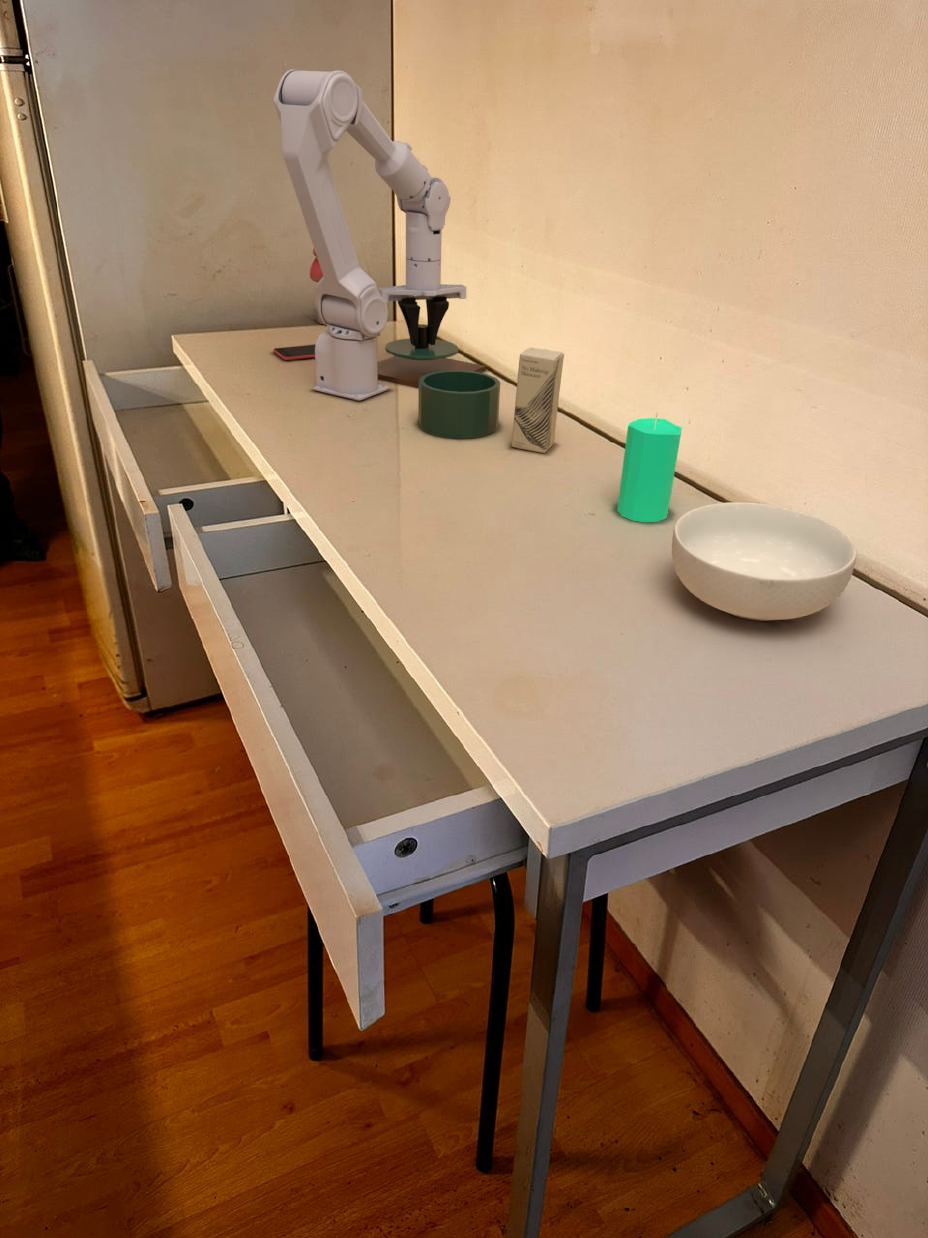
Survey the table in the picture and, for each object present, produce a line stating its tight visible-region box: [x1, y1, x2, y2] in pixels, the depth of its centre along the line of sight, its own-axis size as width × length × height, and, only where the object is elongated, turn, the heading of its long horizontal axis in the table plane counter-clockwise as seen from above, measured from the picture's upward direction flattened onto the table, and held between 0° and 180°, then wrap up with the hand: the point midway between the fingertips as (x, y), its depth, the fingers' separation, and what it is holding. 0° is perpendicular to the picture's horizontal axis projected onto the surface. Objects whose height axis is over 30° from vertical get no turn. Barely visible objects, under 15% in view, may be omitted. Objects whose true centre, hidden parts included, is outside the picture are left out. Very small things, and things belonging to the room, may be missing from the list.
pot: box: [417, 370, 501, 440], centre depth 129 cm, size 11×11×6 cm
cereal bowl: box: [671, 501, 858, 622], centre depth 86 cm, size 17×17×7 cm
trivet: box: [377, 355, 487, 389], centre depth 154 cm, size 16×16×1 cm
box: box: [511, 347, 565, 454], centre depth 121 cm, size 5×4×13 cm
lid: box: [384, 323, 459, 360], centre depth 152 cm, size 12×12×5 cm
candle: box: [616, 412, 683, 523], centre depth 103 cm, size 6×6×12 cm
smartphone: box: [273, 343, 316, 361], centre depth 162 cm, size 7×1×14 cm
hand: (422, 344), depth 152 cm, fingers closed on lid, 2 cm apart
